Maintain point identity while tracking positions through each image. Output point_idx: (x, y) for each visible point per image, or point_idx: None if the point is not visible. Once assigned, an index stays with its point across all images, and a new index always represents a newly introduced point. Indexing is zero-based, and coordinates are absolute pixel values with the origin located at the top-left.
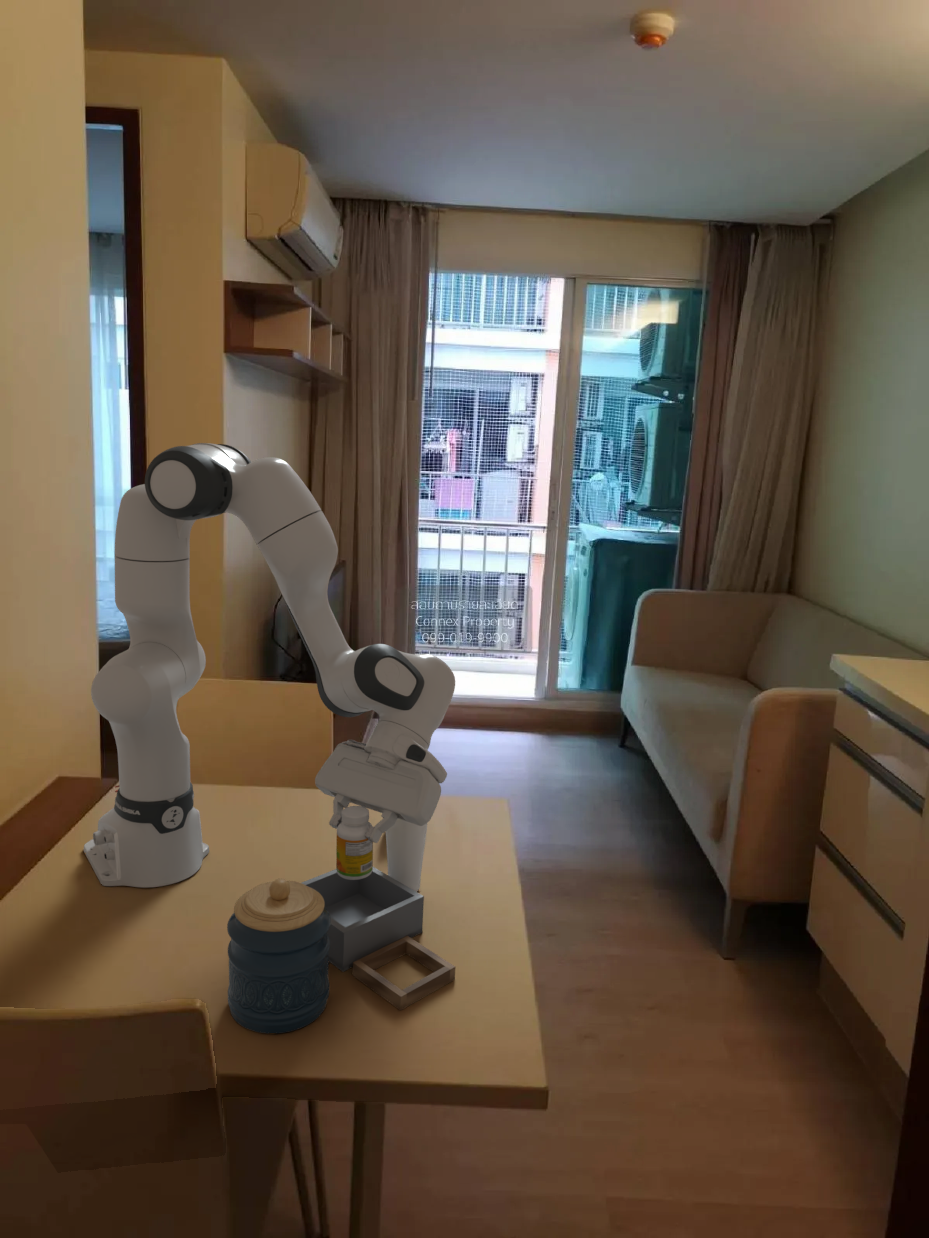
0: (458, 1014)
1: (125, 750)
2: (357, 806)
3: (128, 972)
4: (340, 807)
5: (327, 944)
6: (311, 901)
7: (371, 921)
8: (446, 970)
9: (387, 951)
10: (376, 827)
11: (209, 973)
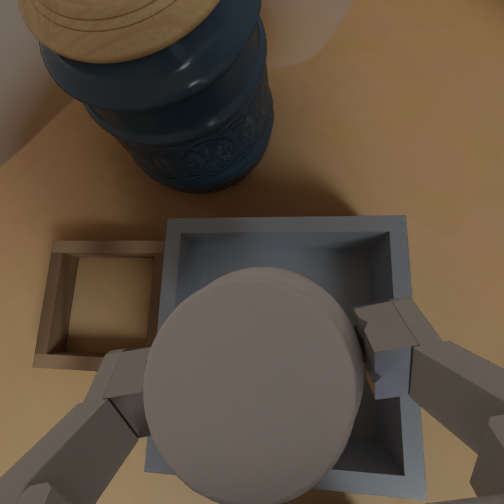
0: (3, 302)
1: None
2: (308, 469)
3: (412, 7)
4: (480, 425)
5: (97, 116)
6: None
7: (161, 291)
8: (38, 346)
9: (150, 309)
10: (90, 401)
11: (332, 89)
